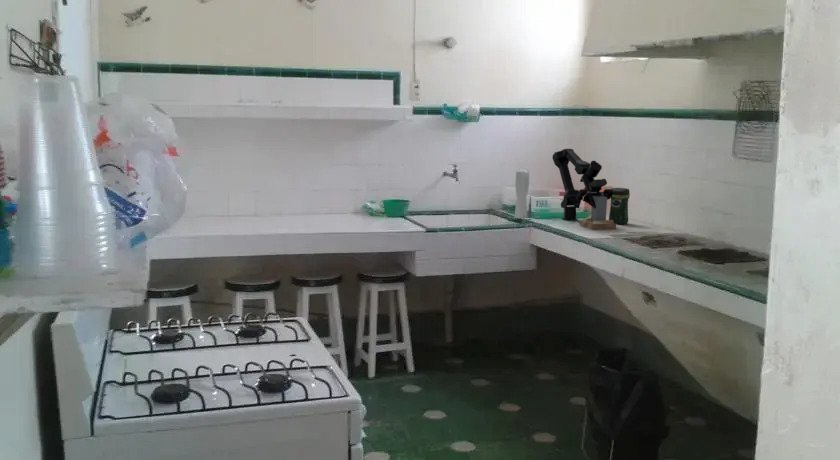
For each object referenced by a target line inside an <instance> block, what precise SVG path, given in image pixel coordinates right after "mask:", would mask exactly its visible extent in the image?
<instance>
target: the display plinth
mask: <svg viewBox="0 0 840 460" xmlns="http://www.w3.org/2000/svg"><path fill="white" fill-rule="evenodd" d="M579 226H580V227H584V228H588V229H591V230H594V231H596V230H598V231H599V230H601V231H602V230H616V229H617V224H614V223H613V220H609V219H606V220H597V221H593V220H591V217H584V218H583V219H582V220H580V221H579Z"/></svg>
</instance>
